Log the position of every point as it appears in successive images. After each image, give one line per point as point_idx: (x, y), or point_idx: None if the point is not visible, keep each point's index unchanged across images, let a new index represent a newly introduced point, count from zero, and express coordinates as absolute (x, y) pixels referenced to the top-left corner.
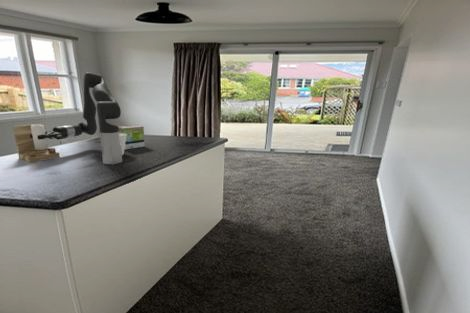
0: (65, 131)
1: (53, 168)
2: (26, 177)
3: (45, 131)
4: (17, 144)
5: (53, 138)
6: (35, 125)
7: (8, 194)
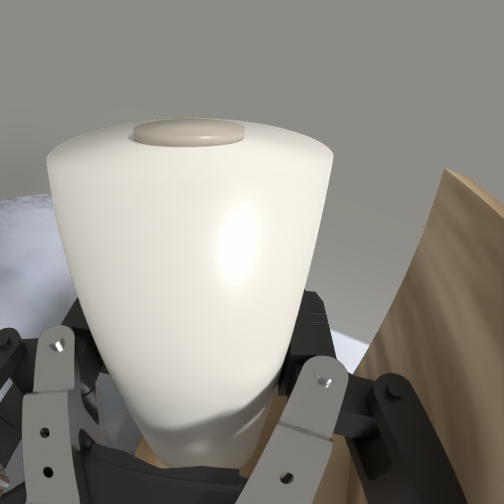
0: None
1: (16, 312)
2: (58, 242)
3: (269, 501)
4: (380, 327)
5: (10, 400)
6: (185, 119)
7: (46, 197)
